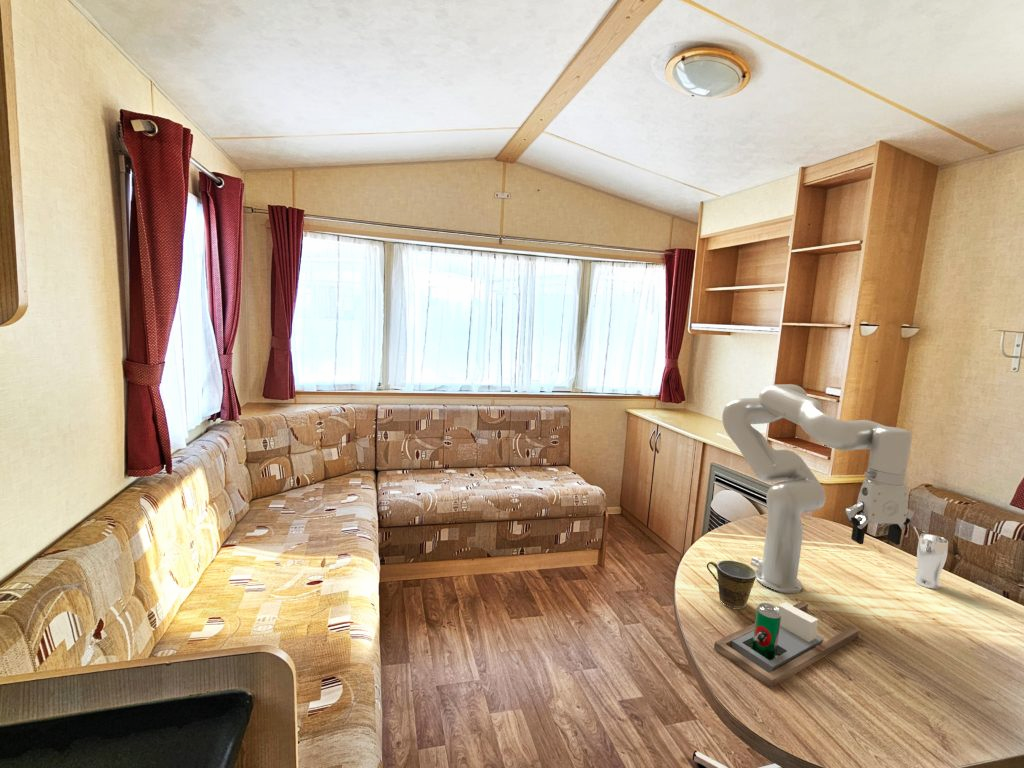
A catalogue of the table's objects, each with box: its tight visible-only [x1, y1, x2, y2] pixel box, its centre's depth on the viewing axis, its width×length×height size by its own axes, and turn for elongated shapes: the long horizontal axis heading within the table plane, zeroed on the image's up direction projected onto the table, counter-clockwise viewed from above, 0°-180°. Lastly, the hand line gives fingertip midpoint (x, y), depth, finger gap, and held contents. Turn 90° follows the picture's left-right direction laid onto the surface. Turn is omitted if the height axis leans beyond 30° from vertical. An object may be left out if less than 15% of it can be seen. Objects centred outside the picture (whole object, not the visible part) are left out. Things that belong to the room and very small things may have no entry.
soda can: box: [751, 602, 781, 661], centre depth 115 cm, size 5×5×12 cm
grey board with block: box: [731, 601, 824, 673], centre depth 118 cm, size 10×21×7 cm, turn 121°
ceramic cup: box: [706, 559, 756, 610], centre depth 137 cm, size 13×10×10 cm
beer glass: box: [913, 533, 949, 590], centre depth 151 cm, size 7×7×15 cm
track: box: [713, 601, 860, 688], centre depth 120 cm, size 14×38×2 cm, turn 121°
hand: (875, 542), depth 124 cm, fingers open, 9 cm apart
